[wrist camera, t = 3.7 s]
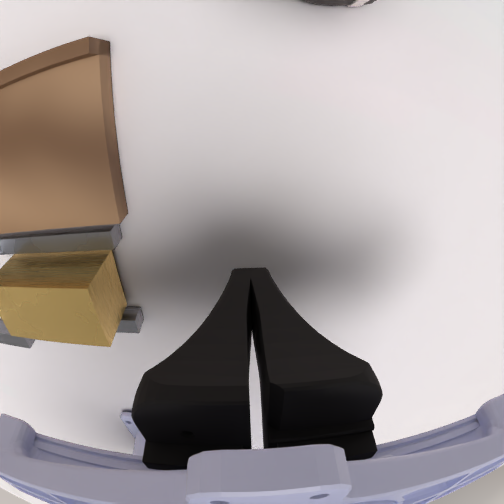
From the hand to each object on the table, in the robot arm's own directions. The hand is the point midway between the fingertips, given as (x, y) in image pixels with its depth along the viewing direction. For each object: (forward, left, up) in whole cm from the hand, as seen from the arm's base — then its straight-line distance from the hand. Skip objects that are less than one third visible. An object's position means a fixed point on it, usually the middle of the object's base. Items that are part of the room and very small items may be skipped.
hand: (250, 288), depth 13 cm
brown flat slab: (+7, +9, -1) cm, 11 cm away
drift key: (0, +9, -1) cm, 9 cm away
